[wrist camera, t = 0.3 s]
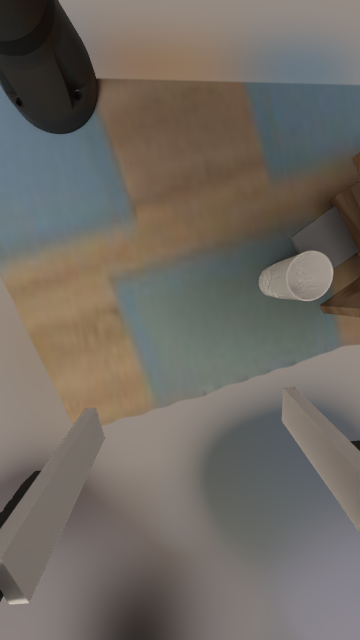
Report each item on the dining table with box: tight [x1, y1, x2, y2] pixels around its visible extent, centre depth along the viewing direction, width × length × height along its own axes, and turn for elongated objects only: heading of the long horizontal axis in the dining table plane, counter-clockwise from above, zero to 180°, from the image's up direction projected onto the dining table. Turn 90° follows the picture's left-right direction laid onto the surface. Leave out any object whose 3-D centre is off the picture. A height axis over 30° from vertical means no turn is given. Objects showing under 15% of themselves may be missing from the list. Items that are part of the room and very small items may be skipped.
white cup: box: [258, 251, 333, 301], centre depth 32 cm, size 8×8×10 cm
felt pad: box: [290, 205, 359, 269], centre depth 36 cm, size 11×11×1 cm
